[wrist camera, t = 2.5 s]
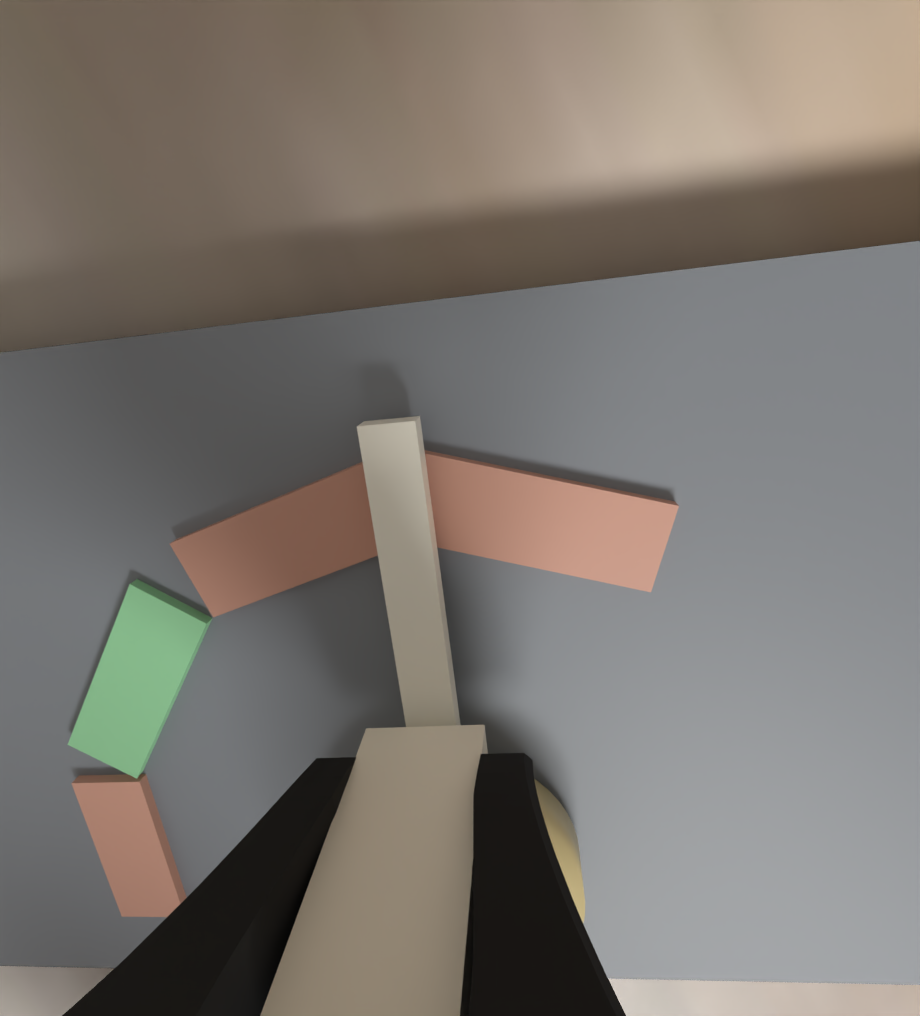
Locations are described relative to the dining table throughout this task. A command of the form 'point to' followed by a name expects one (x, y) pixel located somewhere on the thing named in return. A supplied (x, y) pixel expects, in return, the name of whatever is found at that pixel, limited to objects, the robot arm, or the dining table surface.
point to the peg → (403, 797)
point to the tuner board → (489, 600)
